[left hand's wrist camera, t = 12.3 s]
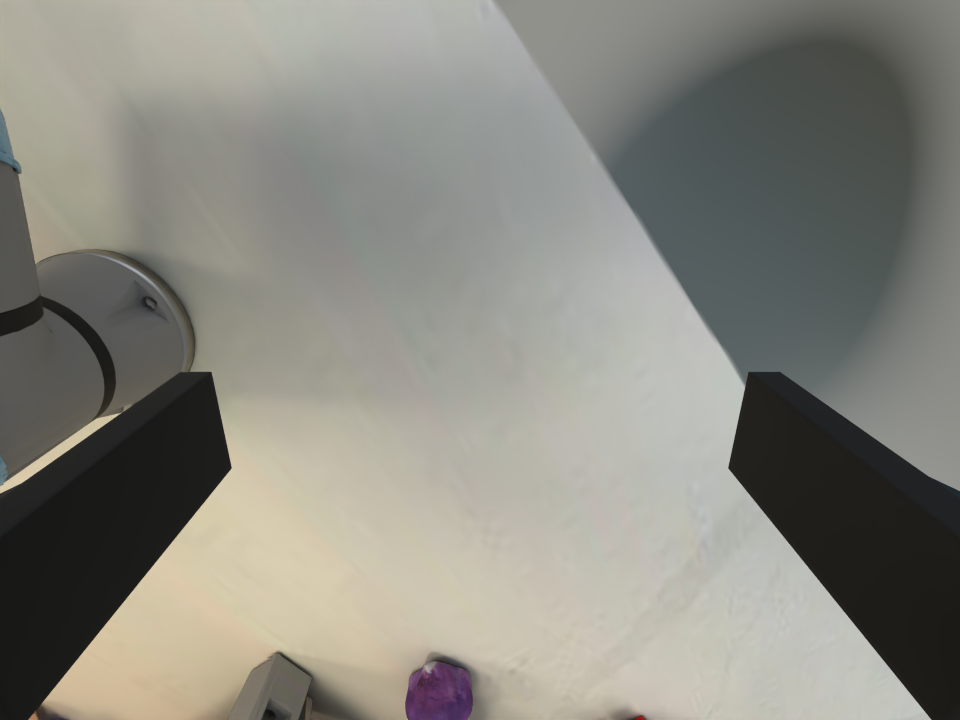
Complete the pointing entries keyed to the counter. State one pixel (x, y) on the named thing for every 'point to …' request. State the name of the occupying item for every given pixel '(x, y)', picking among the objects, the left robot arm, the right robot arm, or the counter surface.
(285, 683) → the grey record storage rack
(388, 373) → the counter surface
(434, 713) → the figurine
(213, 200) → the counter surface
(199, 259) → the counter surface
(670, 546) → the counter surface
